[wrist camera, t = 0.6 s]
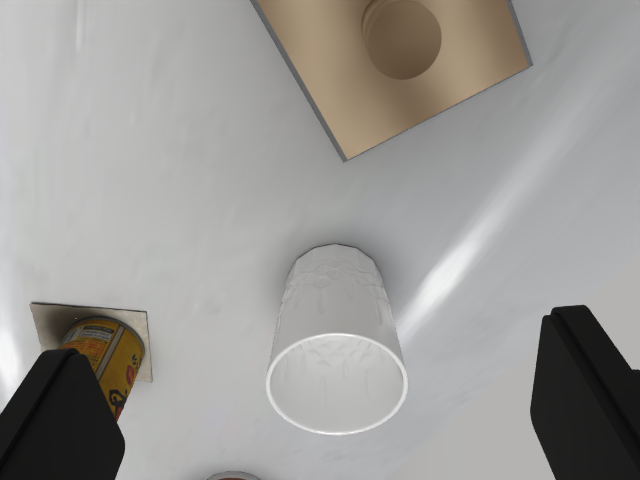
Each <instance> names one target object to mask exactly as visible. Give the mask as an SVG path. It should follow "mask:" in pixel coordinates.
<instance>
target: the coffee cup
mask: <svg viewBox="0 0 640 480" xmlns="http://www.w3.org/2000/svg"><path fill="white" fill-rule="evenodd" d="M207 480H260V479H258V478H257V477H255V476H253V475H250V474H246V473H243V472H223V473H219V474H215V475H213V476H212V477H210V478H209V479H207Z"/></svg>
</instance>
